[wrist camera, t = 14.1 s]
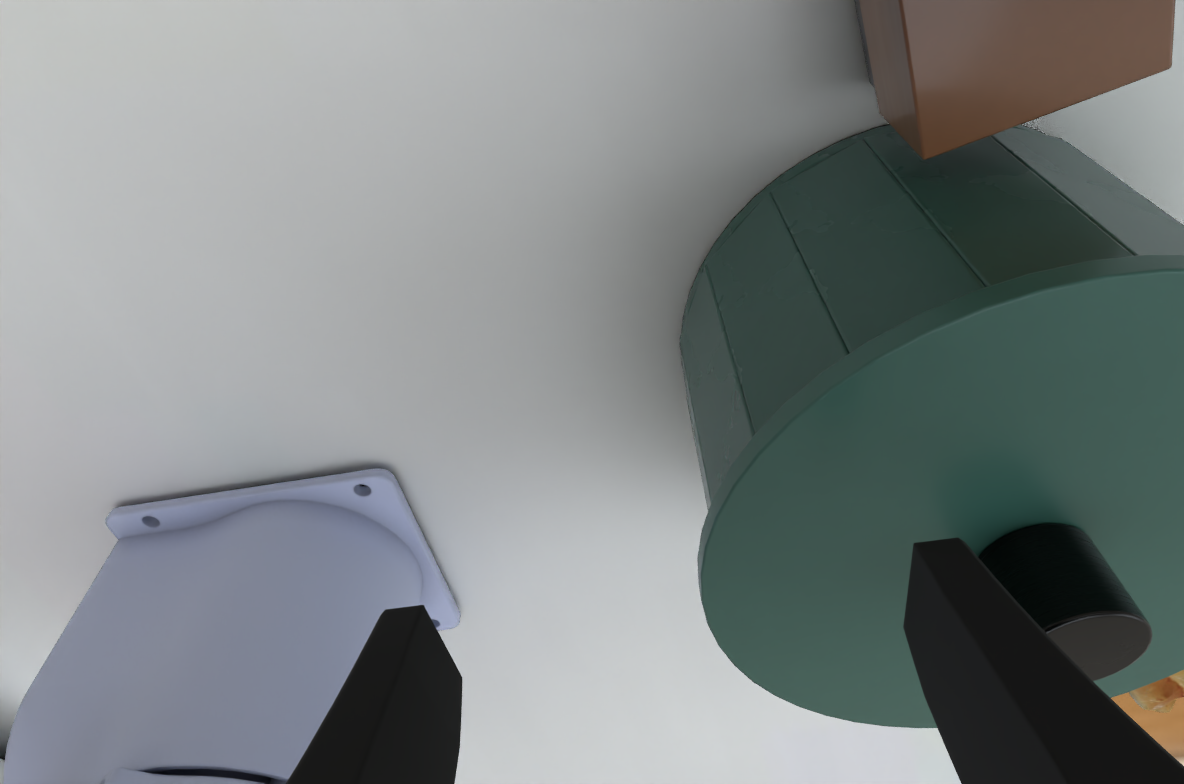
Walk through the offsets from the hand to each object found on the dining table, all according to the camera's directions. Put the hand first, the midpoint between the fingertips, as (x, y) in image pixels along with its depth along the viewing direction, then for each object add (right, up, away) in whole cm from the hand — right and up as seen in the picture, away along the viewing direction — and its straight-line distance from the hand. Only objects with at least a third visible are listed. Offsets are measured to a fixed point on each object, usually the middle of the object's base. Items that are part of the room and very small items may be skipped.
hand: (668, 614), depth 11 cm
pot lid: (+7, 0, +4) cm, 8 cm away
